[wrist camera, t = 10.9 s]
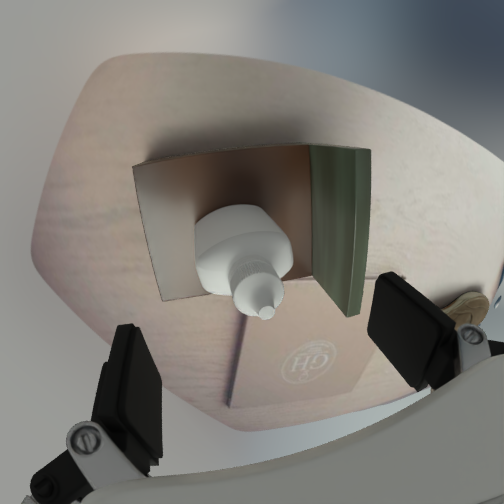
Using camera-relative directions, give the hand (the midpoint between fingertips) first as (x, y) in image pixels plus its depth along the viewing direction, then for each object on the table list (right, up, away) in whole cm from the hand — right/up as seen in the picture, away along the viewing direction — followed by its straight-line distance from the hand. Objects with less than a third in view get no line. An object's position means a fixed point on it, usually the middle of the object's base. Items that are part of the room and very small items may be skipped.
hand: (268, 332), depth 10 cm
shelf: (-3, +7, +17) cm, 18 cm away
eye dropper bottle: (-2, +5, +12) cm, 14 cm away
